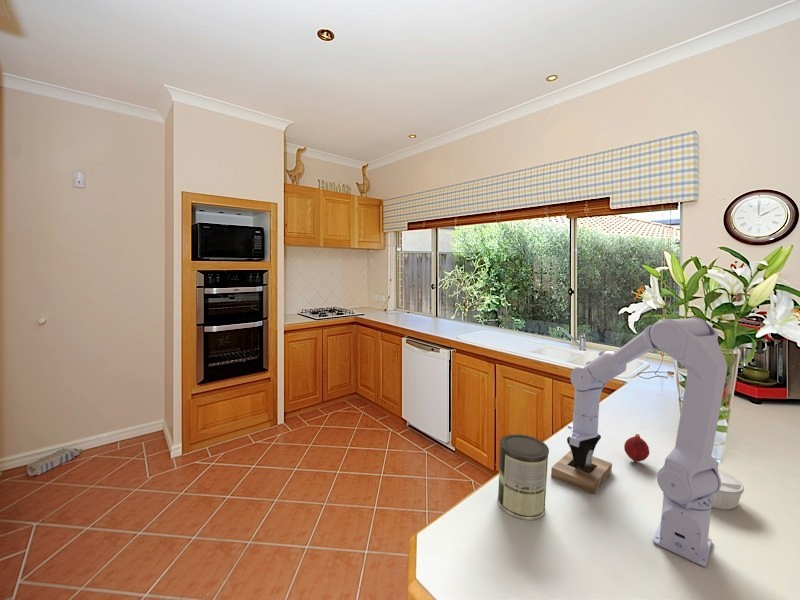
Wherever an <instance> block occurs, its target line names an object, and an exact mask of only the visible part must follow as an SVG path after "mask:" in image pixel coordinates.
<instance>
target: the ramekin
mask: <svg viewBox="0 0 800 600" xmlns="http://www.w3.org/2000/svg"><path fill="white" fill-rule="evenodd" d="M718 473H719V476H720V479H721V488H720V490H719V491H718V492H716V493H714V494H712V506H711V508H715V509H716V510H717V509H718V510H725V511H726V510H733V509H735V508H736V507H738V505H739V502H740V499H741V497H742V495H743V493H744V490H745V487H744V484H743V483H742V481H740V480H739V479H737V478H736V477H735V476H733V475H731V474H729V472H725V471H723V470H721V469H719V468H718Z"/></svg>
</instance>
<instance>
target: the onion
mask: <svg viewBox="0 0 800 600" xmlns="http://www.w3.org/2000/svg"><path fill="white" fill-rule="evenodd" d="M623 448H624V452H625V453H626V456H628V458H630V459H631V461H633V462H634V463H639V462H642V461H645V460H646V459H647V458H648V457H649V455H650V447H649V445H648V444H647V442H646V441H645V440H644V439H642V437H641V436H640V434H639V433H635V435H634V436H631V437H629V438H628V439H627V440H625V442H624V446H623Z"/></svg>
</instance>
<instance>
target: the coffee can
mask: <svg viewBox="0 0 800 600" xmlns="http://www.w3.org/2000/svg"><path fill="white" fill-rule="evenodd" d="M549 453H550V448H549V446H548V445H547V444H546V443H545V442H544V441H542V440H540V439H538V438H537V437H533V436H530V435H525V434H519V433H518V434H514V433H513V434H507V435H505V436H503V437H501V438H500V439H499V470H498V472H499V473H498V492H497V494H498V495H497V504H498V505H499V507H500V508H501V510H503V511H504V512H505V513H506V514H508V515H509V516H512V517H514V518H516V519H520V520H524V521H525V520H526V521H532V520H537V519H540V518H542V517H543V516H544V515H545V513H546V495H547V481H548V480H547V479H548V478H547V477H548V464H549V463H548V461H549V460H548V459H549Z"/></svg>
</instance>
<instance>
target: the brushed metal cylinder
mask: <svg viewBox="0 0 800 600" xmlns="http://www.w3.org/2000/svg"><path fill="white" fill-rule="evenodd" d="M592 454H594V452H593V450H592V449H590V450H589V453H588V455H587V459H586V463H585V466H584V468H583V469H582V468H579V467H577V466H575V465H574V468H576V469H579V470H581V471H584V472H586V473H589V474H591V466H592V456H593V455H592Z"/></svg>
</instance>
